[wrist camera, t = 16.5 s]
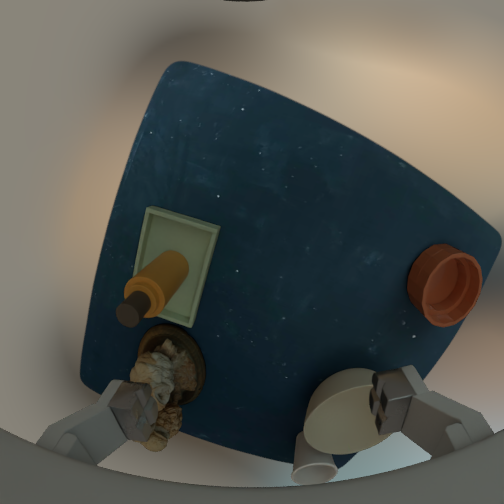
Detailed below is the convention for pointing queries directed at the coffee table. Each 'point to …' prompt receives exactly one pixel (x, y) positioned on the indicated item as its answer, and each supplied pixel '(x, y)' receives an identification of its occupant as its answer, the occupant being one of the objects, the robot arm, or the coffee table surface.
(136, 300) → the bottle
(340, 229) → the coffee table surface
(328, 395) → the bowl
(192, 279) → the tray
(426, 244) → the coffee table surface
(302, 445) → the dixie cup
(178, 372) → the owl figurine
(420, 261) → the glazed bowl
